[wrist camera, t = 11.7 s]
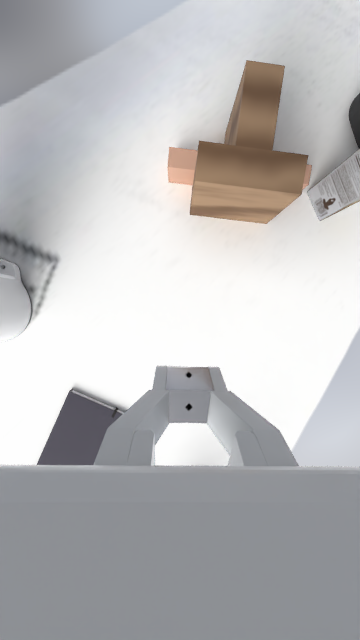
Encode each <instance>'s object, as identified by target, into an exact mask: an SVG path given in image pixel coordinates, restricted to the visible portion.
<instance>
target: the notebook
mask: <svg viewBox="0 0 360 640" xmlns="http://www.w3.org/2000/svg"><path fill="white" fill-rule="evenodd" d="M122 414H124V412H122V411H120V410H118V408H116V409H115V408H113V407H111V406H108V405H106V404H104V403H101V402H99V401H97V400H95V399H92V398H90V397H88V396H85V395H83V394H81V393H78V392H76V391H74V390H73V389H71V390H70V391H69V393H68V396H67V398H66V400H65V402H64V405H63V407H62V409H61V411H60V414H59V416H58V418H57V420H56V423H55V425H54V427H53V429H52V432H51V434H50V436H49V438H48V441H47V443H46V445H45V447H44V450H43V452H42V454H41V456H40V459H39V461H38V463H37V465H94V462H95V459H96V457H97V454H98V452H99V449H100V446H101V444H102V441H103V439H104V436H105V433H106V431H107V428H108V427H109V426H110V425H111V424H113V423H114V422H115V421H116V420H117V419H118V418H119V417H120V416H121V415H122Z"/></svg>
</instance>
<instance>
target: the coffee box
mask: <svg viewBox="0 0 360 640" xmlns="http://www.w3.org/2000/svg"><path fill="white" fill-rule="evenodd" d="M307 193H308V196H309V198H310V200H311V203H312V205H313V207H314V210H315V212H316V214H317V217H318V219H319V221H321V220H323V219H325V218H327V217H329V216H331V215H333V214H335V213H337V212H339V211H341V210H343V209H345V208H347V207H349V206H351V205H353V204H355V203H357V202H359V201H360V149H358V150H357V151H356V152H355V153H354V154H352V155H351V156H350V157H349V158H348V159H346V160H345V161H344V162H343V163H342V164H340V165H339V166H338V167H337V168H335V169H334V170H333V171H332V172H331V173H329V174H328V175H327V176H326V177H325V178H323V179H322V180H321V181H320V182H318V183H317V184H316V185H315V186H314V187H312V188H311V189H310V190H309V191H308V192H307Z"/></svg>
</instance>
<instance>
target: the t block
mask: <svg viewBox="0 0 360 640" xmlns="http://www.w3.org/2000/svg"><path fill="white" fill-rule="evenodd" d="M284 68H285V66H282V65H275V64H268V63H261V62H255V61H248V60H247V61H246V65H245V68H244V72H243V75H242V78H241V82H240V85H239V89H238V92H237V95H236V99H235V102H234V105H233V109H232V112H231V116H230V119H229V122H228V126H227V129H226V134H225V143H224V144H220V143H212V142H205V141H199V145H198V152H197V159H196V166H195V173H194V180H193V188H192V197H191V207H190V215H197V216H206V217H214V218H222V219H230V220H239V221H247V222H255V223H264V224H267V223H268V222H269V221H270V220H272V219H273V218H274V217H275V216H276V215H278V214H279V213H280V212H281V211H282V210H283V209H285V208H286V207H287V206H288V205H289V204H291V203H292V202H293V201H294V200H295V199H297V198H298V197H299V196H300V195H301V194H302V189H303V183H304V177H305V171H306V165H307V159H308V155H302V154H295V153H287V152H280V151H272V149H273V142H274V135H275V129H276V122H277V115H278V108H279V102H280V95H281V88H282V82H283V75H284Z"/></svg>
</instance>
